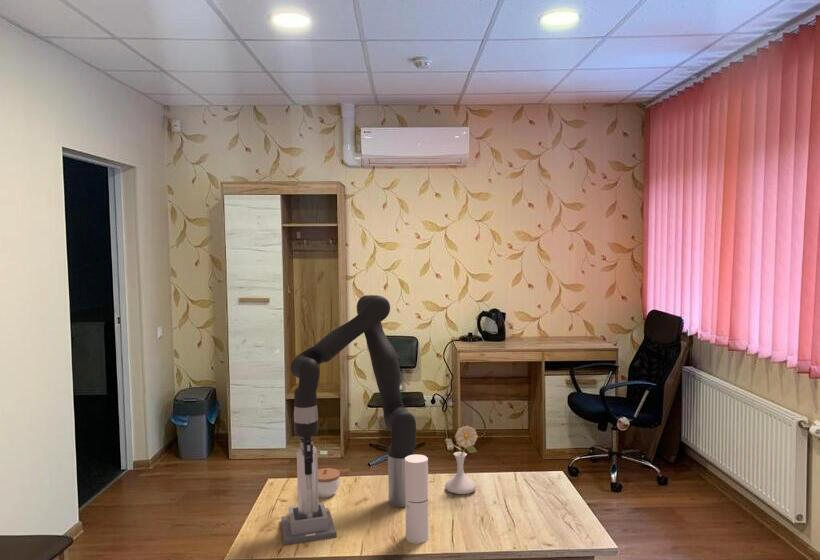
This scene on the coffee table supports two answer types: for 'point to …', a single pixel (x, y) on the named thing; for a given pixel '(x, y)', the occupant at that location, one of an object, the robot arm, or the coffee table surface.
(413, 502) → the cylindrical container
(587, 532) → the coffee table surface
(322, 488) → the lidded jar
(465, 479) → the flower in vase
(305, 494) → the silver metal cylinder
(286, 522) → the socket
